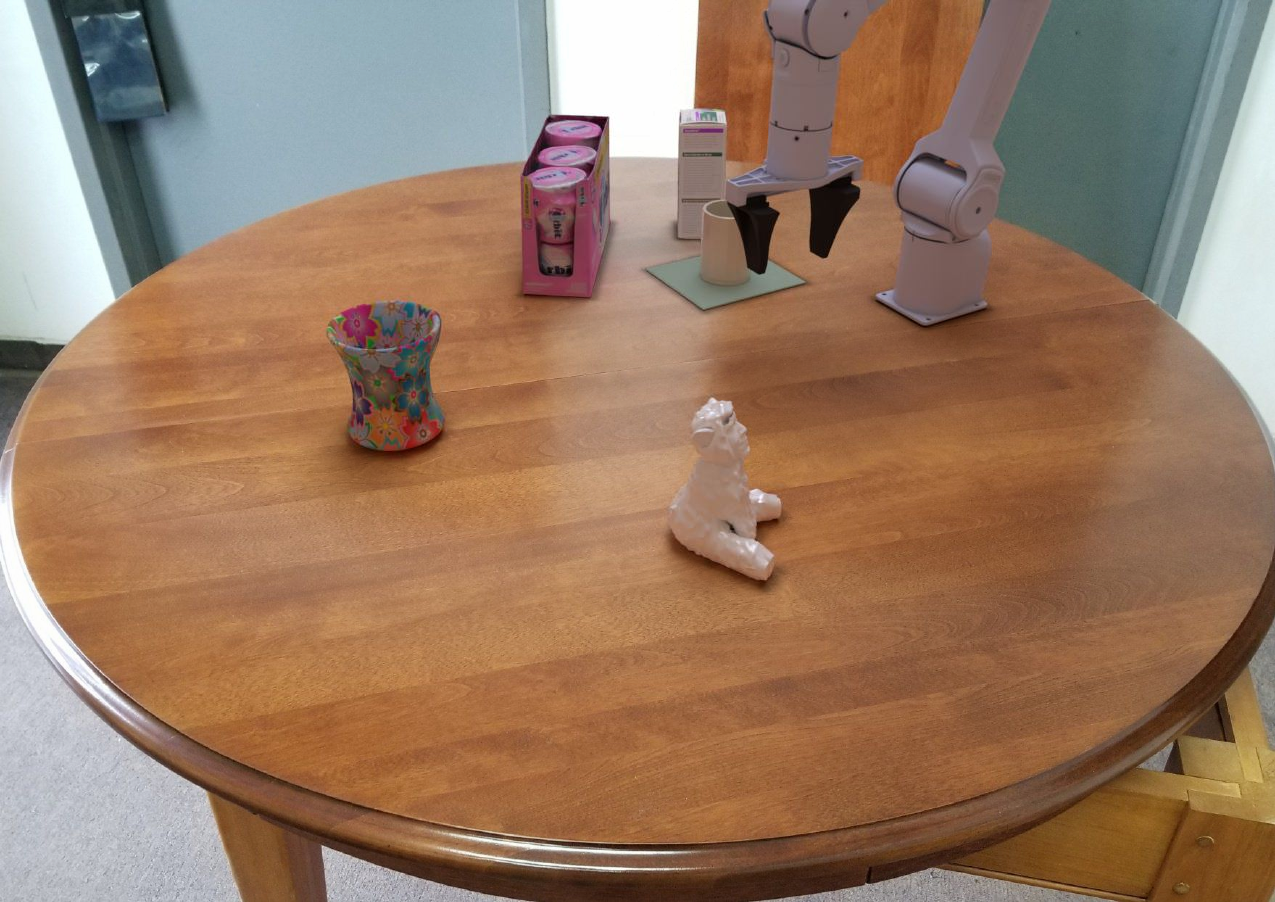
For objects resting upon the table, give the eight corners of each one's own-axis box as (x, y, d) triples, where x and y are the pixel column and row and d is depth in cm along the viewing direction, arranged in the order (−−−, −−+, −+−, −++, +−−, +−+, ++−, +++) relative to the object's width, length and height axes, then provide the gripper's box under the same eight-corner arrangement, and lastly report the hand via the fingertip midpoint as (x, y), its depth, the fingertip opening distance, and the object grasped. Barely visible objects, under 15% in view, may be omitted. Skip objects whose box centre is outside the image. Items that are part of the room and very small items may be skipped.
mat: (744, 247, 131) (744, 245, 131) (805, 283, 122) (805, 281, 122) (646, 270, 125) (646, 268, 125) (703, 310, 116) (703, 308, 116)
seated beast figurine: (772, 587, 78) (787, 451, 72) (656, 573, 80) (660, 437, 73) (781, 511, 86) (794, 381, 80) (675, 499, 87) (679, 370, 81)
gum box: (591, 304, 117) (590, 183, 110) (519, 301, 118) (513, 180, 110) (611, 221, 137) (611, 115, 129) (549, 219, 137) (546, 112, 130)
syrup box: (723, 240, 132) (730, 122, 124) (675, 239, 132) (679, 121, 124) (721, 222, 137) (727, 108, 129) (675, 221, 137) (678, 107, 129)
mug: (407, 471, 90) (393, 360, 84) (321, 443, 94) (302, 334, 88) (487, 406, 99) (479, 301, 93) (406, 382, 103) (393, 280, 97)
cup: (731, 261, 127) (735, 196, 122) (760, 279, 122) (765, 212, 118) (689, 271, 124) (692, 205, 120) (718, 290, 120) (722, 222, 116)
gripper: (835, 99, 102) (820, 234, 110) (709, 121, 96) (702, 262, 104) (885, 119, 97) (866, 258, 105) (755, 143, 91) (745, 289, 99)
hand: (787, 262), depth 104 cm, fingers open, 7 cm apart
